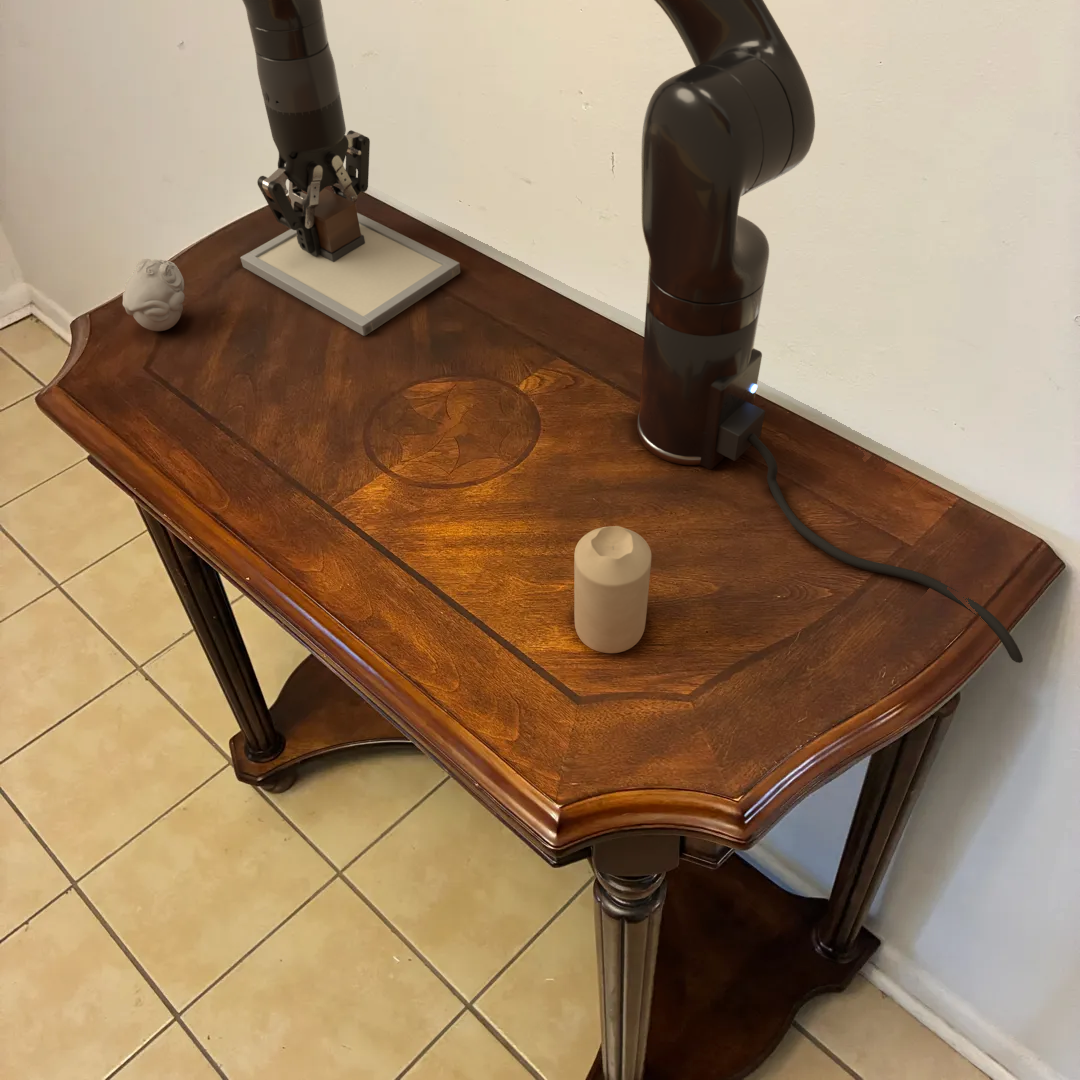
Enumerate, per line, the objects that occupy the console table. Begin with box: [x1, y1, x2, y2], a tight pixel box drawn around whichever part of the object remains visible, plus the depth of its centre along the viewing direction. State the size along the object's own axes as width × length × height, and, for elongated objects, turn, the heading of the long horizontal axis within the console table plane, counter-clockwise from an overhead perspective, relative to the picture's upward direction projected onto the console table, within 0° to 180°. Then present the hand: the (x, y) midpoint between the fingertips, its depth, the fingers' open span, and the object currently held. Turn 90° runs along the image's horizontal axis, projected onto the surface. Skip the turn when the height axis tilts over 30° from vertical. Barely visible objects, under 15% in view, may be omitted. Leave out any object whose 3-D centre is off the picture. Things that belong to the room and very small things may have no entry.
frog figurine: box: [122, 258, 186, 332], centre depth 102 cm, size 6×7×7 cm
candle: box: [573, 525, 652, 654], centre depth 73 cm, size 6×6×10 cm
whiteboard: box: [240, 212, 461, 337], centre depth 109 cm, size 20×14×1 cm
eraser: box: [297, 187, 365, 262], centre depth 110 cm, size 6×5×5 cm
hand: (331, 241), depth 111 cm, fingers closed on eraser, 4 cm apart
